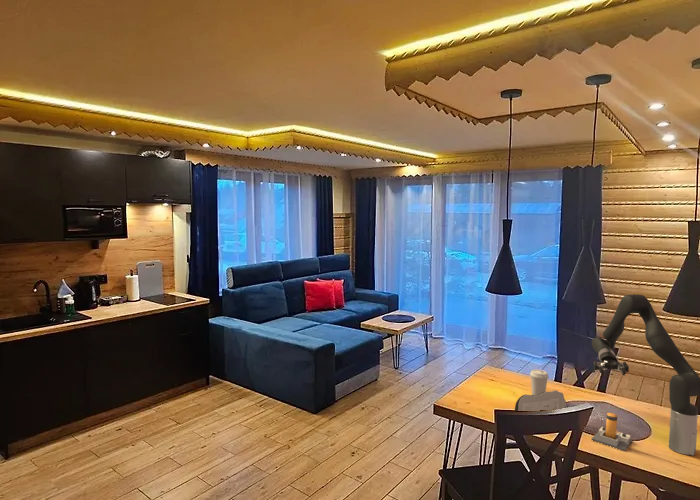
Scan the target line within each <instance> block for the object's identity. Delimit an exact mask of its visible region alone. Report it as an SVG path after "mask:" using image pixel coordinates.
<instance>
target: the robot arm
mask: <svg viewBox="0 0 700 500" xmlns="http://www.w3.org/2000/svg"><path fill="white" fill-rule="evenodd" d="M631 314H638V315H639V316H640V318H641V319H642V321H643V323H644V326H645V330H644V331H645V339H646V342H647V344H648V345H649V346H650V349H651V350H652V351H653V353H654V354H655V355H656V356H658V357H659V358H661V359H662V360H663V361H664V362H665V363H667V364H668V365H669V366H671V368H672V369H674V371H675V372H676V374H674V375H672V376H671V378H670V380H669V386H668V387H669V388H668V389H669V394H668V395H669V403H670V419H669V431H668V432H669V434H668V448H669V449H670V450H672V451H673V452H676V453H679V454H681V455H686V456H692V457H694V456H695V454H696V451H697V442H698V441H697V439H698V415H699V409H698V407H697V405H695V404H693V403H691V397H699V396H700V376H699V374H698V373H697V372H696V371H695V370H694V368H693V367H692V365H691V364H690V363H689V362H688V361H687V360H686V358H685V356H684V355H683V353H681V351H680V349H679V348H678V346H677V345H676V343H675V342H674V340H673V339H672V337H671V335H670V334H669V333H668V331H667V330H666V328H665V327H664V326H663V324H662V322H661V320H660V319H659V317H658V316H657V313H656V312H655V309H654V308H653V305H652V304H651V302H650V301H649V299H648V298H647V297H646V296H645V295H643V294H625V295H624V296H623V297H621V299H620V301H619V303H618V305H617V307H616V310H615V312H614V315H613V317H612V319H611V321H609V324H608V325H607V326H606V328H605V330H604V331H603V333H602V337H601V336H596V337H594V338H593V339H592V340H591V347H592V349H593V350H594V352H596V353H597V355H598V360H599V361H597V360H596V359H595V360H593V368H594V371H599V374H602V375H605V373H604V371H606V370H615V371H617V372H621V374H622V376H625V375H627V373H629V371H630V366H629V365H628V363H627V361H622V362H623V363H622V362H620V361H618V358H617V356H616V354H615V353H614V350H615V345H616V343H617V340H619V338H620V337H621V336H622V334H623V333H624V330H625V320H626V319H627V317H629V315H631Z"/></svg>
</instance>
